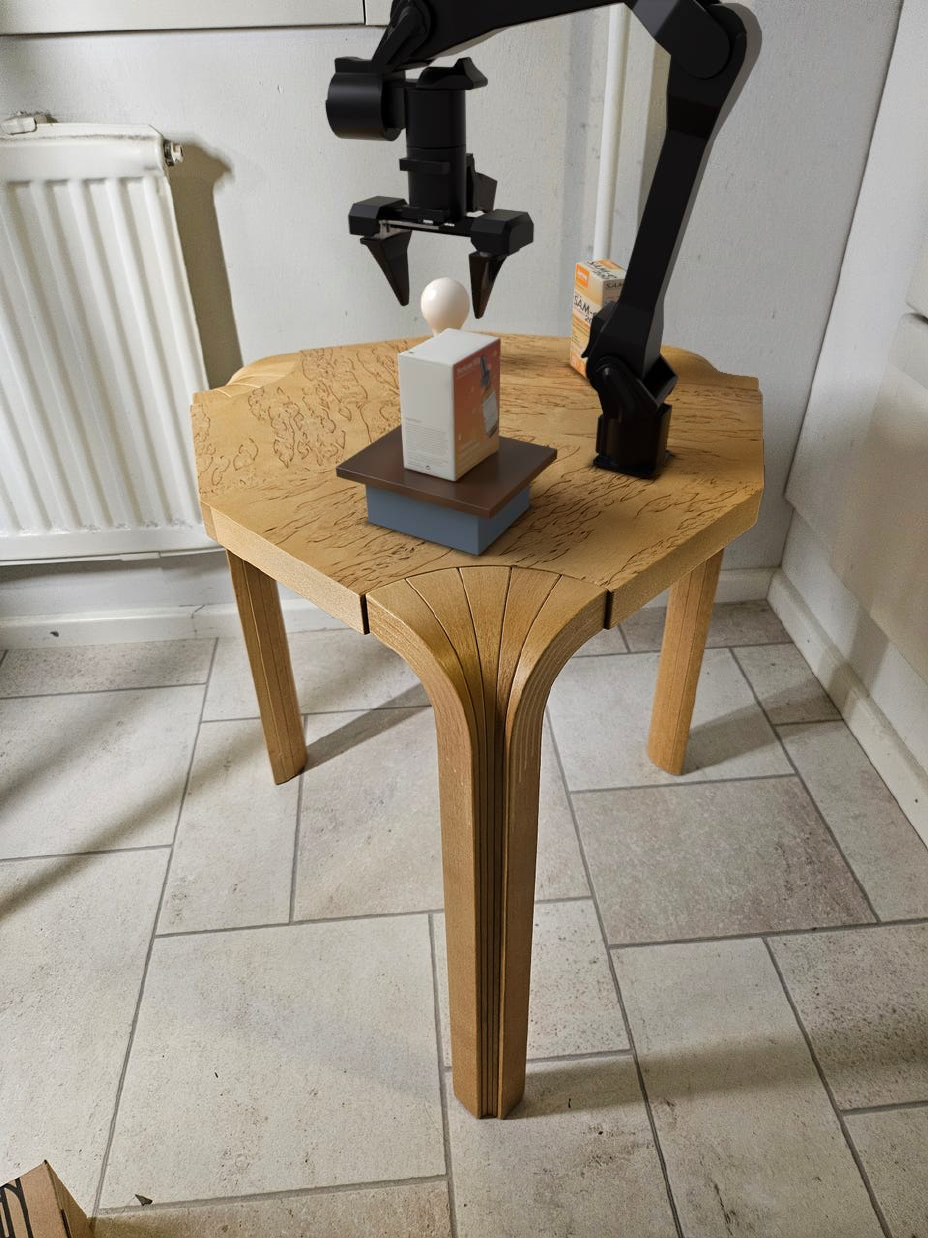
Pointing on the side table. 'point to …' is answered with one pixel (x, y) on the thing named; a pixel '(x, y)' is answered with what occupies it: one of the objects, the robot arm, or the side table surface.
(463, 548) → the blue box
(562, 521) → the side table surface
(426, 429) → the small box
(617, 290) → the supplement box
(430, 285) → the lightbulb
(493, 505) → the wooden board
